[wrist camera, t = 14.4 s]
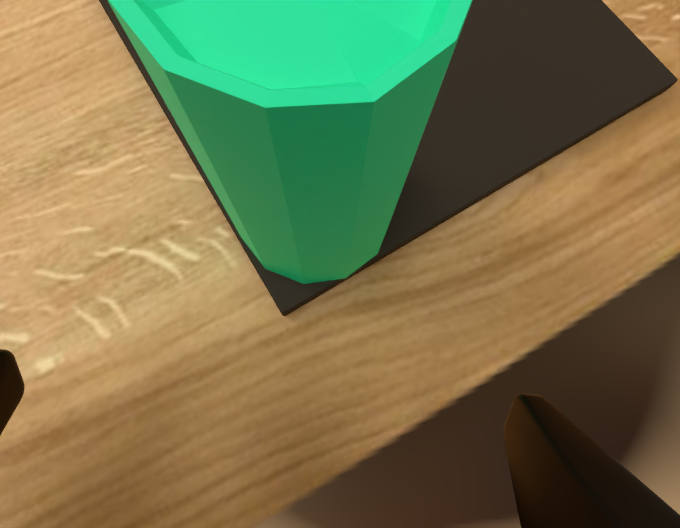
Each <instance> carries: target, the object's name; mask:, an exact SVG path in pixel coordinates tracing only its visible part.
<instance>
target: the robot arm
mask: <svg viewBox="0 0 680 528" xmlns="http://www.w3.org/2000/svg"><path fill="white" fill-rule="evenodd" d="M23 393H24V382H23V379H22V376H21V373H20V371H19V368H18V365H17V362H16V360H15V357H14V355H13V354H12V353H11V352H10V351H8V350H2V349H0V435H1V433H2V431H3V430H4V428H5V426H6V424H7V423H8V421H9V419H10V418H11V416H12V414H13V412H14V411H15V409H16V407H17V405H18V404H19V402H20V400H21V398H22V396H23ZM504 441H505V446H506V452H507V457H508V461H509V467H510V472H511V477H512V483H513V488H514V493H515V499H516V503H517V509H518V514H519V518H520V523H521V527H522V528H680V515H679V514H678V513H677V512H676V511H675V510H673V509H672V508H671V507H670V506H669V505H667V504H666V503H665V502H664V501H663V500H662V499H661V498H660V497H658V496H657V495H656V494H655V493H654V492H653V491H651V490H650V489H649V488H648V487H647V486H646V485H645V484H643V483H642V482H641V481H640V480H639V479H638V478H636V477H635V476H634V475H633V474H632V473H631V472H630V471H628V470H627V469H626V468H625V467H624V466H623V465H622V464H620V463H619V462H618V461H617V460H616V459H615V458H613V457H612V456H611V455H610V454H609V453H607V452H606V451H605V450H604V449H603V448H602V447H601V446H600V445H598V444H597V443H596V442H595V441H594V440H593V439H591V438H590V437H589V436H588V435H587V434H586V433H585V432H583V431H582V430H581V429H580V428H579V427H578V426H577V425H575V424H574V423H573V422H572V421H571V420H570V419H568V418H567V417H566V416H565V415H564V414H563V413H562V412H560V411H559V410H558V409H557V408H556V407H555V406H554V405H552V404H551V403H550V402H549V401H548V400H547V399H545V398H544V397H542V396H540V395H535V394H524V393H521V394H518V395H516V396H515V398H514V400H513V403H512V406H511V408H510V411H509V414H508V417H507V419H506V422H505V425H504Z"/></svg>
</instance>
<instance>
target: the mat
mask: <svg viewBox="0 0 680 528" xmlns="http://www.w3.org/2000/svg"><path fill="white" fill-rule="evenodd" d="M99 1H100V3H101V4H102V6H103V8H104V10H105V11H106V13H107V15H108V16H109V18H110V20H111V22H112V23H113V25H114V27H115V28H116V30H117V32H118V34H119V35H120V37H121V39H122V40H123V42H124V44H125V46H126V47H127V49H128V51H129V52H130V54H131V56H132V58H133V59H134V61H135V63H136V64H137V66H138V68H139V70H140V71H141V73H142V75H143V76H144V78H145V80H146V82H147V83H148V85H149V87H150V88H151V90H152V92H153V94H154V95H155V97H156V99H157V101H158V102H159V104H160V106H161V107H162V109H163V111H164V113H165V114H166V116H167V118H168V119H169V121H170V123H171V125H172V126H173V128H174V130H175V131H176V133H177V135H178V137H179V138H180V140H181V142H182V143H183V145H184V147H185V149H186V150H187V152H188V154H189V155H190V157H191V159H192V161H193V162H194V164H195V166H196V167H197V169H198V171H199V173H200V174H201V176H202V178H203V179H204V181H205V183H206V185H207V186H208V188H209V190H210V191H211V193H212V195H213V197H214V198H215V200H216V202H217V204H218V205H219V207H220V209H221V210H222V212H223V214H224V216H225V217H226V219H227V221H228V222H229V224H230V226H231V228H232V229H233V231H234V233H235V234H236V236H237V238H238V240H239V241H240V243H241V245H242V246H243V248H244V250H245V252H246V253H247V255H248V257H249V258H250V260H251V262H252V264H253V265H254V267H255V269H256V270H257V272H258V274H259V276H260V277H261V279H262V281H263V282H264V284H265V286H266V288H267V289H268V291H269V293H270V294H271V296H272V298H273V300H274V301H275V303H276V305H277V307H278V308H279V310H280V312H281V313H282V315H283V316H285V315H287V314H288V313H290V312H292V311H294V310H295V309H297V308H299V307H300V306H302V305H304V304H305V303H307V302H309V301H310V300H312V299H314V298H315V297H317V296H319V295H321V294H322V293H324V292H326V291H327V290H329V289H331V288H332V287H334V286H336V285H337V284H339V283H341V282H343V281H344V280H346V279H348V278H349V277H351V276H353V275H354V274H356V273H358V272H359V271H361V270H363V269H364V268H366V267H368V266H370V265H371V264H373V263H375V262H376V261H378V260H380V259H381V258H383V257H385V256H386V255H388V254H390V253H392V252H393V251H395V250H397V249H398V248H400V247H402V246H403V245H405V244H407V243H408V242H410V241H412V240H413V239H415V238H417V237H419V236H420V235H422V234H424V233H425V232H427V231H429V230H430V229H432V228H434V227H435V226H437V225H439V224H440V223H442V222H444V221H446V220H447V219H449V218H451V217H452V216H454V215H456V214H457V213H459V212H461V211H462V210H464V209H466V208H468V207H469V206H471V205H473V204H474V203H476V202H478V201H479V200H481V199H483V198H484V197H486V196H488V195H489V194H491V193H493V192H495V191H496V190H498V189H500V188H501V187H503V186H505V185H506V184H508V183H510V182H511V181H513V180H515V179H516V178H518V177H520V176H522V175H523V174H525V173H527V172H528V171H530V170H532V169H533V168H535V167H537V166H538V165H540V164H542V163H544V162H545V161H547V160H549V159H550V158H552V157H554V156H555V155H557V154H559V153H560V152H562V151H564V150H565V149H567V148H569V147H571V146H572V145H574V144H576V143H577V142H579V141H581V140H582V139H584V138H586V137H587V136H589V135H591V134H592V133H594V132H596V131H598V130H599V129H601V128H603V127H604V126H606V125H608V124H609V123H611V122H613V121H614V120H616V119H618V118H620V117H621V116H623V115H625V114H626V113H628V112H630V111H631V110H633V109H635V108H636V107H638V106H640V105H641V104H643V103H645V102H647V101H648V100H650V99H652V98H653V97H655V96H657V95H658V94H660V93H662V92H663V91H665V90H667V89H669V88H670V87H671V86H672V85H673V84H674V83H675V82H677V78H676V77H675V76H674V75H673V74H672V73H671V72H670V71H669V70H668V69H667V68H666V67H665V66H664V65H663V64H662V63H661V61H660V60H659V59H658V58H657V57H656V56H655V55H654V54H653V53H652V52H651V51H650V50H649V49H648V48H647V47H646V46H645V45H644V44H643V43H642V42H641V41H640V40H639V39H638V38H637V37H636V36H635V35H634V33H633V32H632V31H631V30H630V29H629V28H628V27H627V26H626V25H625V24H624V23H623V22H622V21H621V20H620V19H619V18H618V17H617V16H616V15H615V14H614V13H613V12H612V11H611V10H610V9H609V8H608V7H607V5H606V4H605V3H604V2H603V1H602V0H473V1H472V3H471V6H470V9H469V11H468V14H467V17H466V19H465V22H464V25H463V28H462V30H461V33H460V36H459V38H458V41H457V44H456V46H455V49H454V52H453V54H452V57H451V60H450V62H449V65H448V68H447V71H446V73H445V76H444V79H443V81H442V84H441V87H440V89H439V92H438V95H437V97H436V100H435V103H434V105H433V108H432V111H431V114H430V116H429V119H428V122H427V124H426V127H425V130H424V132H423V135H422V138H421V140H420V143H419V146H418V148H417V151H416V154H415V157H414V159H413V162H412V165H411V167H410V170H409V173H408V175H407V178H406V181H405V183H404V186H403V189H402V191H401V194H400V197H399V199H398V202H397V205H396V208H395V210H394V213H393V216H392V218H391V221H390V223H389V226H388V229H387V231H386V234H385V236H384V239H383V241H382V244H381V247H380V249H379V252H378V254H377V255H376V256H374V257H373V258H372V259H370V260H369V261H368V262H366V263H365V264H364V265H362V266H361V267H360V268H359V269H357V270H356V271H355V272H353V273H352V274H351V275H349V276H348V277H347V278H345V279H337V280H330V281H323V282H315V283H308V284H303V283H300V282H297V281H295V280H292V279H290V278H287V277H285V276H282V275H280V274H277V273H275V272H272V271H270V270H267V269H265V268H264V266H263V265H262V264H261V262H260V261H259V260H258V259H257V257H256V256H255V255H254V253H253V252H252V251H251V250H250V248H249V247H248V246H247V244H246V243H245V242H244V240H243V239H242V238H241V236H240V234H239V233H238V231H237V229H236V227H235V226H234V224H233V222H232V220H231V218H230V217H229V215H228V213H227V211H226V210H225V208H224V206H223V204H222V202H221V201H220V199H219V197H218V195H217V194H216V192H215V190H214V188H213V187H212V185H211V183H210V181H209V179H208V178H207V176H206V174H205V172H204V171H203V169H202V167H201V165H200V164H199V162H198V160H197V158H196V156H195V155H194V153H193V151H192V149H191V148H190V146H189V144H188V142H187V141H186V139H185V137H184V135H183V133H182V132H181V130H180V128H179V126H178V125H177V123H176V121H175V119H174V117H173V116H172V114H171V112H170V110H169V109H168V107H167V105H166V103H165V102H164V100H163V98H162V96H161V94H160V93H159V91H158V89H157V87H156V86H155V84H154V82H153V80H152V79H151V77H150V75H149V73H148V71H147V70H146V68H145V66H144V64H143V63H142V61H141V59H140V57H139V56H138V54H137V52H136V50H135V48H134V47H133V45H132V43H131V41H130V40H129V38H128V36H127V34H126V32H125V31H124V29H123V27H122V25H121V24H120V22H119V20H118V18H117V17H116V15H115V13H114V11H113V9H112V8H111V6H110V4H109V2H108V1H107V0H99Z"/></svg>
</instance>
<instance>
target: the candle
mask: <svg viewBox="0 0 680 528" xmlns="http://www.w3.org/2000/svg"><path fill="white" fill-rule="evenodd" d="M107 1H108V2H109V4H110V6H111V8H112V9H113V11H114V13H115V15H116V17H117V18H118V20H119V22H120V24H121V25H122V27H123V29H124V31H125V32H126V34H127V36H128V38H129V40H130V41H131V43H132V45H133V47H134V48H135V50H136V52H137V54H138V56H139V57H140V59H141V61H142V63H143V64H144V66H145V68H146V70H147V71H148V73H149V75H150V77H151V79H152V80H153V82H154V84H155V86H156V87H157V89H158V91H159V93H160V94H161V96H162V98H163V100H164V102H165V103H166V105H167V107H168V109H169V110H170V112H171V114H172V116H173V117H174V119H175V121H176V123H177V125H178V126H179V128H180V130H181V132H182V133H183V135H184V137H185V139H186V141H187V142H188V144H189V146H190V148H191V149H192V151H193V153H194V155H195V156H196V158H197V160H198V162H199V164H200V165H201V167H202V169H203V171H204V172H205V174H206V176H207V178H208V179H209V181H210V183H211V185H212V187H213V188H214V190H215V192H216V194H217V195H218V197H219V199H220V201H221V202H222V204H223V206H224V208H225V210H226V211H227V213H228V215H229V217H230V218H231V220H232V222H233V224H234V226H235V227H236V229H237V231H238V233H239V234H240V236H241V238H242V239H243V240H244V242H245V243H246V244H247V246H248V247H249V248H250V250H251V251H252V252H253V253H254V255H255V256H256V257H257V259H258V260H259V261H260V262H261V264H262V265H263V266H264V268H265V269H267V270H270V271H272V272H275V273H277V274H280V275H282V276H285V277H287V278H290V279H292V280H295V281H297V282H300V283H303V284H308V283H315V282H323V281H330V280H337V279H345V278H347V277H348V276H349V275H351V274H352V273H353V272H355V271H356V270H357V269H359V268H360V267H361V266H362V265H364V264H365V263H366V262H368V261H369V260H370V259H372V258H373V257H374V256H376V255H377V254H378V252H379V249H380V247H381V244H382V241H383V239H384V236H385V234H386V231H387V229H388V226H389V223H390V221H391V218H392V216H393V213H394V210H395V208H396V205H397V202H398V199H399V197H400V194H401V191H402V189H403V186H404V183H405V181H406V178H407V175H408V173H409V170H410V167H411V165H412V162H413V159H414V157H415V154H416V151H417V148H418V146H419V143H420V140H421V138H422V135H423V132H424V130H425V127H426V124H427V122H428V119H429V116H430V114H431V111H432V108H433V105H434V103H435V100H436V97H437V95H438V92H439V89H440V87H441V84H442V81H443V79H444V76H445V73H446V71H447V68H448V65H449V62H450V60H451V57H452V54H453V52H454V49H455V46H456V44H457V41H458V38H459V36H460V33H461V30H462V28H463V25H464V22H465V19H466V17H467V14H468V11H469V9H470V6H471V3H472V1H473V0H107Z"/></svg>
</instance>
